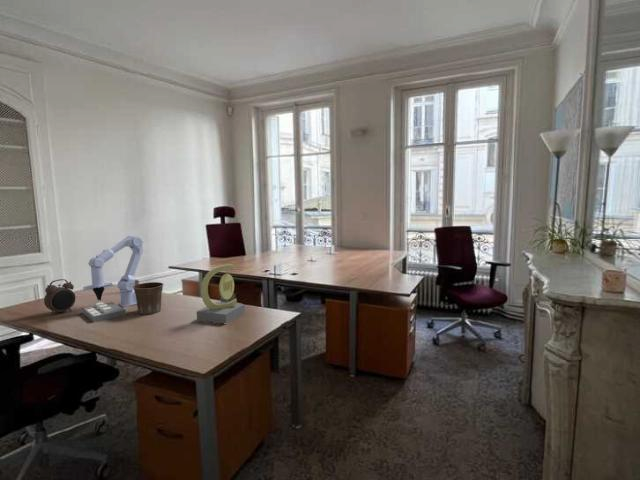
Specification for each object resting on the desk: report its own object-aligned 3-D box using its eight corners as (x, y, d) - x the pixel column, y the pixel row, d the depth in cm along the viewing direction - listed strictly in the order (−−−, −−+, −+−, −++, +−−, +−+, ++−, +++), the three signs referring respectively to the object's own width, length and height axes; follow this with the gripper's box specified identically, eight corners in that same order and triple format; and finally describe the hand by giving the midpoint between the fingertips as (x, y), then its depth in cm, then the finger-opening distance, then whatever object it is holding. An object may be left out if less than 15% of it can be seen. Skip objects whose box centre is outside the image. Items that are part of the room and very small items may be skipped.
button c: (110, 311, 199) (109, 306, 199) (112, 313, 197) (111, 307, 196) (102, 313, 197) (102, 308, 196) (104, 315, 194) (104, 309, 194)
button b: (106, 309, 204) (105, 304, 204) (108, 310, 202) (107, 305, 201) (99, 311, 201) (98, 305, 201) (100, 312, 199) (100, 307, 198)
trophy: (226, 324, 183) (224, 269, 179) (197, 321, 188) (194, 267, 185) (244, 313, 200) (242, 263, 197) (217, 310, 206) (215, 261, 203)
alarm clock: (50, 317, 197) (47, 283, 195) (44, 315, 200) (41, 281, 198) (78, 310, 209) (75, 277, 207) (72, 308, 213) (69, 276, 211)
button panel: (112, 306, 216) (112, 301, 215) (126, 314, 199) (125, 309, 199) (82, 312, 204) (81, 307, 204) (94, 322, 188) (93, 316, 187)
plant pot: (170, 307, 213) (168, 282, 211) (155, 316, 197) (153, 288, 195) (145, 307, 214) (143, 281, 212) (128, 315, 198) (126, 288, 196)
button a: (102, 307, 209) (102, 302, 208) (104, 308, 206) (104, 303, 206) (95, 308, 206) (95, 303, 206) (97, 309, 204) (96, 304, 203)
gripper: (84, 280, 196) (86, 303, 198) (113, 276, 207) (115, 298, 208) (81, 278, 201) (83, 301, 202) (109, 274, 211) (111, 296, 213)
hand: (99, 299), depth 206 cm, fingers closed
